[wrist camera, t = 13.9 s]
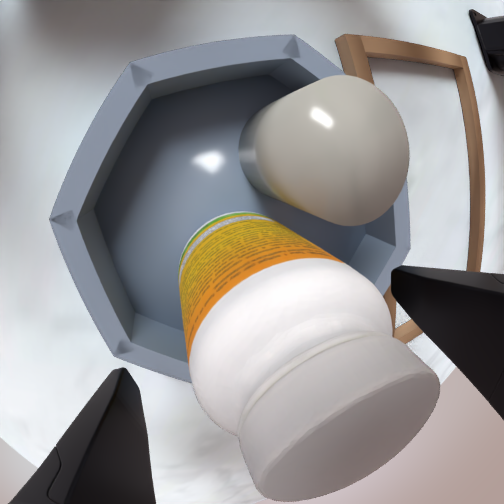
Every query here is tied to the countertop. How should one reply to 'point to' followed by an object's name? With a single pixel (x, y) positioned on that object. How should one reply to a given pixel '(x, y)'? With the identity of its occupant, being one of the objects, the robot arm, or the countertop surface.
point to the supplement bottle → (296, 357)
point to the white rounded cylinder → (328, 150)
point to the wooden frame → (357, 65)
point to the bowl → (188, 188)
